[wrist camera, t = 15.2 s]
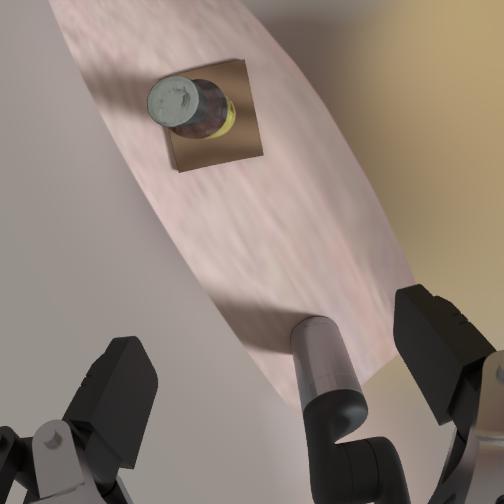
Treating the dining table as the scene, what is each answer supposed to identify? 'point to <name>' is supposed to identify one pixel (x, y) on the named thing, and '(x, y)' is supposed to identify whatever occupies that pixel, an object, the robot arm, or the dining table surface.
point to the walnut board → (241, 133)
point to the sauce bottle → (191, 107)
